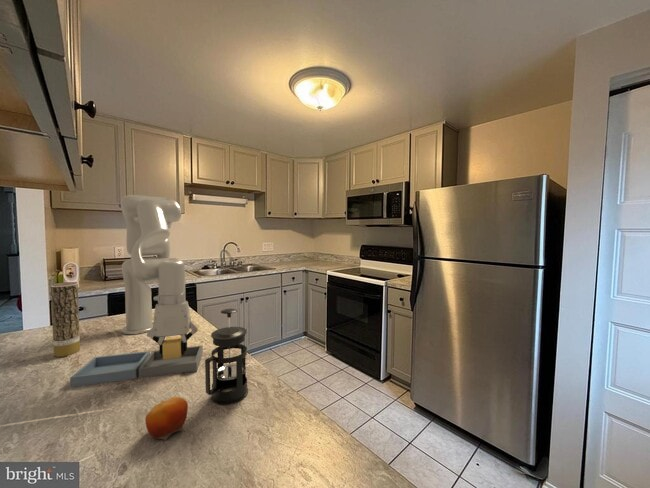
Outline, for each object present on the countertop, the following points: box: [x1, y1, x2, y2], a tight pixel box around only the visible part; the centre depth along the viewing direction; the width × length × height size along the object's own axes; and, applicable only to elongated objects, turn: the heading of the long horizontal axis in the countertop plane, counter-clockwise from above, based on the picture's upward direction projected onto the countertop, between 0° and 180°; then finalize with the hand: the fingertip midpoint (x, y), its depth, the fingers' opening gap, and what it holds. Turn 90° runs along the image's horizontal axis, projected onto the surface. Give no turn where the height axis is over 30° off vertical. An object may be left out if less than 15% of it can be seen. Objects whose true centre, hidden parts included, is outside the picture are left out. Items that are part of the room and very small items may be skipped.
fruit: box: [145, 396, 189, 441], centre depth 60 cm, size 8×8×8 cm
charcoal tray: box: [138, 345, 203, 379], centre depth 89 cm, size 13×16×3 cm
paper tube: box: [50, 281, 81, 358], centre depth 97 cm, size 7×7×25 cm
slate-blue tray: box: [69, 350, 151, 388], centre depth 84 cm, size 13×16×3 cm
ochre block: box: [162, 336, 182, 360], centre depth 89 cm, size 5×5×5 cm
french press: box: [204, 308, 249, 406], centre depth 73 cm, size 12×9×23 cm
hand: (173, 353), depth 89 cm, fingers closed on ochre block, 5 cm apart
